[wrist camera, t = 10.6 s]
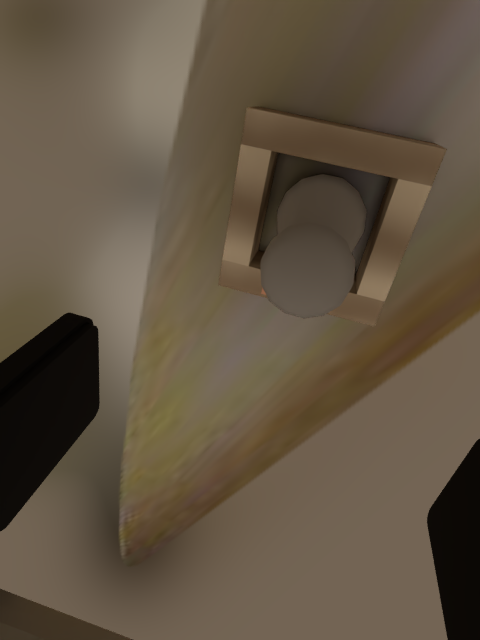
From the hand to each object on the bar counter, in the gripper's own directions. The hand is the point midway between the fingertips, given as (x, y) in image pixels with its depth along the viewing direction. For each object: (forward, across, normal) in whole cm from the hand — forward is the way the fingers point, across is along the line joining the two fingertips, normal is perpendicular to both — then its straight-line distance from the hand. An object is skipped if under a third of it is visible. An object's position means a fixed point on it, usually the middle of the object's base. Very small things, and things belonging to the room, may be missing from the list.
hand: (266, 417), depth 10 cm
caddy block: (+22, 0, 0) cm, 22 cm away
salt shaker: (+22, 0, 0) cm, 22 cm away
